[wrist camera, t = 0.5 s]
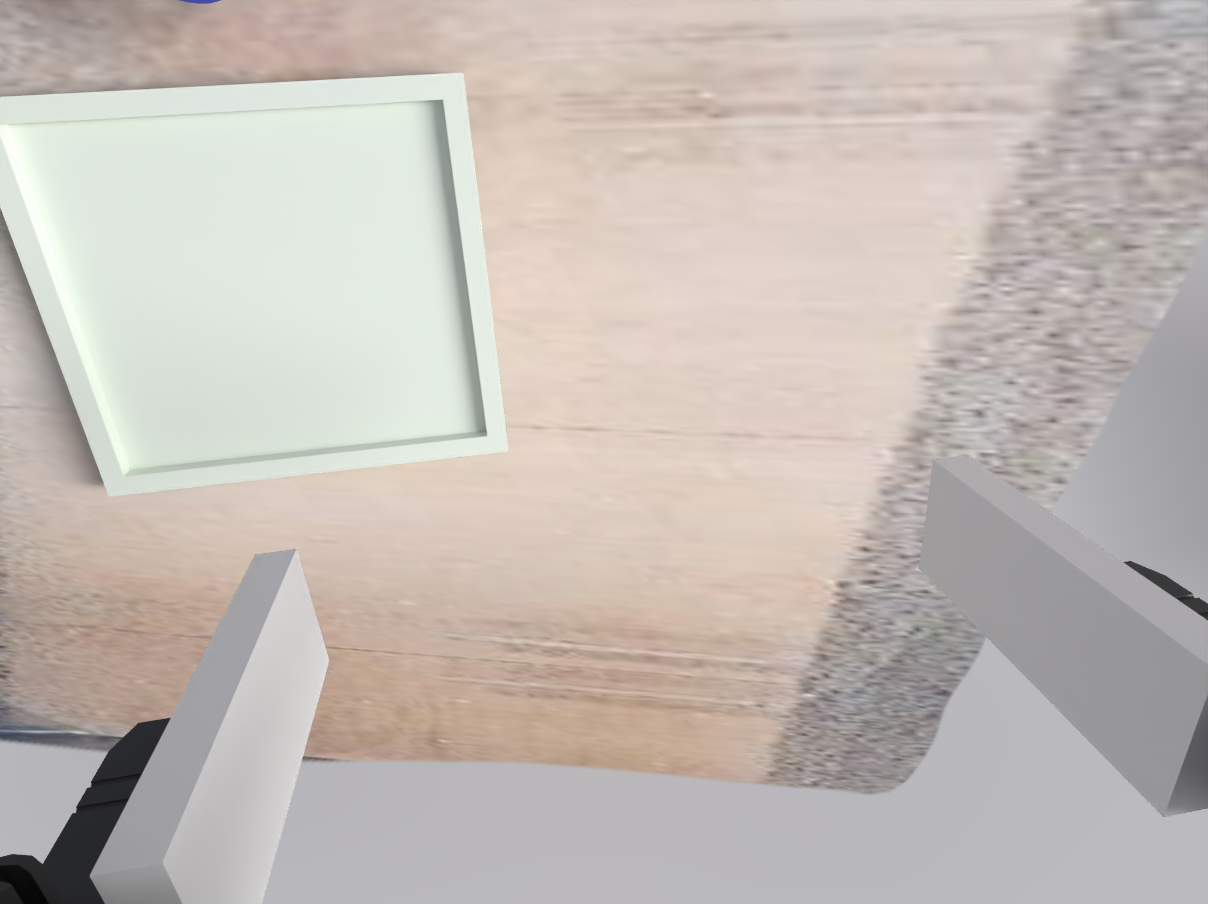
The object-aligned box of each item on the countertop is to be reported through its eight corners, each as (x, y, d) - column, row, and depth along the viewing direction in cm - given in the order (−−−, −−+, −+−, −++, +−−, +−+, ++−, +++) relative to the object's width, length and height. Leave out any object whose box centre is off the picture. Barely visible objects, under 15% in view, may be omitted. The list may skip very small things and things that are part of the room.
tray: (-17, 100, 31) (-41, 99, 29) (463, 75, 33) (462, 72, 32) (122, 482, 38) (108, 496, 37) (507, 440, 41) (508, 451, 39)
